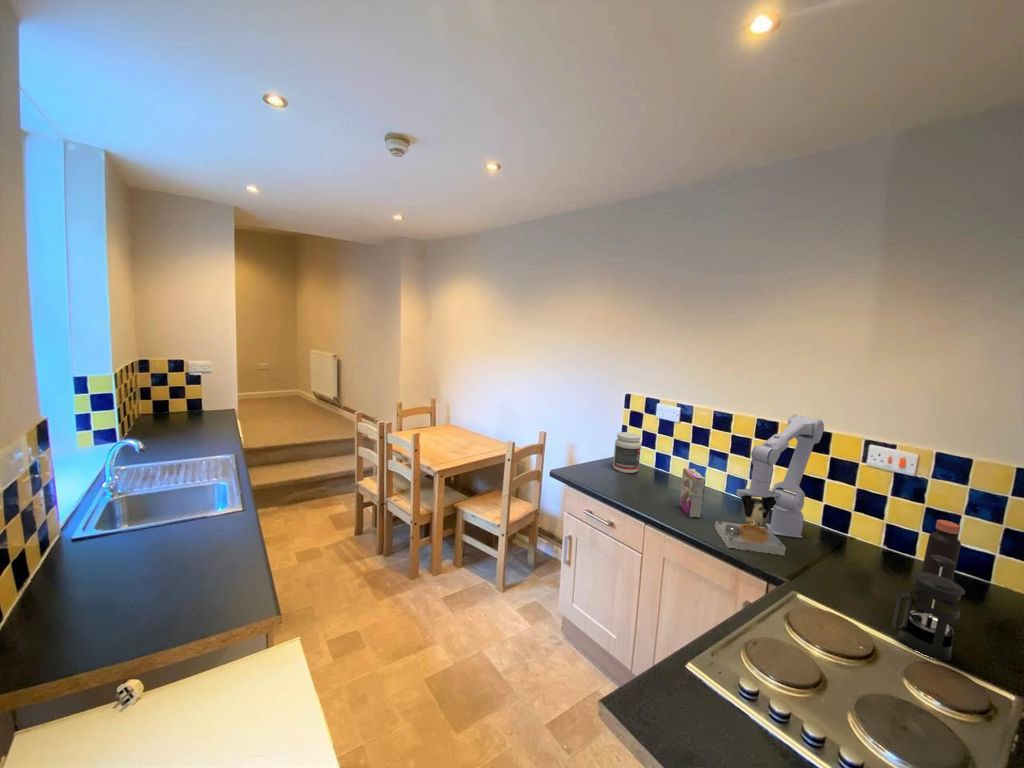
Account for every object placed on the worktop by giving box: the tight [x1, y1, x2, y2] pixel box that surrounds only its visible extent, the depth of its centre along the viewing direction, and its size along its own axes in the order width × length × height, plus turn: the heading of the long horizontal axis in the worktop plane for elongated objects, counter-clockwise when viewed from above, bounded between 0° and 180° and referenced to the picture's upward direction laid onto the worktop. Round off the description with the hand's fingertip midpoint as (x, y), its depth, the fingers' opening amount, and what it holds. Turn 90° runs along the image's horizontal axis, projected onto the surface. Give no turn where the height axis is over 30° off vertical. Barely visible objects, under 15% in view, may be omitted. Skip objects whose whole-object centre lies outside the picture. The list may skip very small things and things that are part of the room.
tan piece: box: [745, 497, 766, 526], centre depth 148 cm, size 5×8×8 cm, turn 3°
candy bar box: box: [678, 468, 706, 519], centre depth 171 cm, size 11×5×16 cm, turn 179°
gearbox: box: [714, 520, 787, 556], centre depth 150 cm, size 18×14×4 cm
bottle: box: [920, 519, 962, 582], centre depth 129 cm, size 7×7×20 cm
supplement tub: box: [612, 431, 642, 474], centre depth 217 cm, size 13×13×18 cm
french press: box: [892, 555, 966, 661], centre depth 102 cm, size 12×9×23 cm
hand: (755, 516), depth 149 cm, fingers closed on tan piece, 5 cm apart
